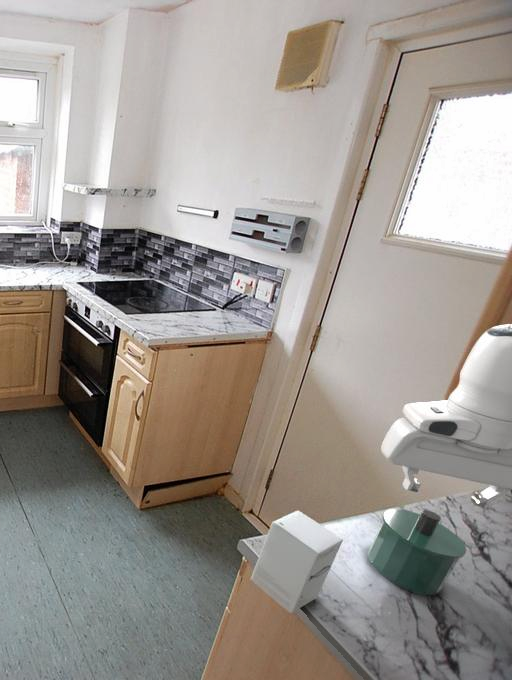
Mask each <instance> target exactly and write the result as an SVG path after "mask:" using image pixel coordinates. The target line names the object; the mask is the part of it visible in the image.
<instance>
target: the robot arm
mask: <svg viewBox="0 0 512 680" xmlns="http://www.w3.org/2000/svg"><path fill="white" fill-rule="evenodd" d="M402 414H403V415H404V417H401V418H398V419H396V420H395V421H394V422H393V423H392V425H391V426H390V428H389V430H388V431H387V433H386V434H385V437H384V439H383V441H382V443H381V446H380V451H381V453H382V455H383V456H384V458H385V459H386V460H387V462H389V463H390V464H391V465H395V466H399V467H402V471H403V474H404V479H403V481H402V487H403V488H404V490H406V491H409V492H414V493H418V492H419V489H420V488H421V485H422V484H421V483H420V482H419V480H418V479H417V478H415V477H414V475H418V474H419V471H422V472H427V473H433V474H436V475H437V474H438V475H442V476H447V477H451V478H456V479H459V480H460V479H461V480H465V481H470V482H475V483H480V484H483V485H488V487H486V488H485V489H484V490H482V491H474V492H473V494H472V495H473V496H471V498H470V501H471V503H472V504H473V505H474V506H476V507H480V508H484V509H488V508H489V507H490V505H491V504H492V502H493V501H495V500H497V499H500V498H502V497H503V496H505V495H507V494H508V492H509V490H512V323H511V324H510V323H508V324H500V325H495V326H493V327H491V328H489V329H486V331H485V332H483V333H482V335H480V337H479V338H478V339H477V340H476V342H475V343H474V345H473V347H472V348H471V350H470V352H469V354H468V355H467V358H466V359H465V361H464V364H463V366H462V368H461V369H460V373H459V382H458V384H457V386H456V387H455V389H454V390H453V391H452V392H451V393H450V394H449V396H448V398H447V400H438V401H426V402H410V403H406V404H405V405H404V406H403V408H402Z"/></svg>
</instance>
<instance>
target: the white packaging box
mask: <svg viewBox="0 0 512 680" xmlns="http://www.w3.org/2000/svg"><path fill="white" fill-rule="evenodd" d="M343 541H344V539H343V538H342V537H340V536H339V535H337V534H336V533H335V532H333V531H332V530H331V529H328V528H326V527H325V526H323V525H322V524H321V523H319V522H317V521H316V520H314V519H313V518H311V517H309V516H308V515H306V514H305V513H303V512H301V511H300V510H295V511H293V512H291V513H288V514H287V515H286V514H285V515H284V516H282V517H281V518H278V519H276V520H274V521H272V522H271V524H270V527H269V530H268V532H267V535H266V538H265V540H264V543H263V545H262V548H261V551H260V553H259V556H258V559H257V561H256V564H255V566H254V570H253V571H252V574H251V577H250V581H251V582H253V583H254V584H255V585H256V586H257V587H258V588H259V589H261V590H262V591H263V592H264V593H265V594H267V595H268V596H269V597H270V598H271V599H273V600H274V601H275V602H276V603H277V604H278V605H280V606H281V607H282V608H283V609H284V610H285V611H287V612H288V613H289V614H291V615H292V614H294V613H295V612H297V611H298V610H299V609H301V608H302V607H304V606H306V605H307V604H308V603H310V602H313V601H314V600H316V599H318V596H319V594H320V593H321V589H322V588H323V586H324V583H325V581H326V579H327V577H328V575H329V573H330V570H331V568H332V567H333V563H334V562H335V559H336V557H337V554H338V553H339V550H340V548H341V545H342V543H343Z"/></svg>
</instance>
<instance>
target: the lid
mask: <svg viewBox="0 0 512 680" xmlns="http://www.w3.org/2000/svg"><path fill="white" fill-rule="evenodd" d="M441 520H442V518H441V516H440V515H439V514H437V513H436V512H434V511H431V510H429V509H423V510H422V511H421V513H417V512H414V511H410V510H407V509H402V508H389V509H387V510H385V511H384V512H383V514H382V522H384V524H385V525H386V526H387V528H388V529H389V530H390V531H391V532H392V533H394V534H395V535H396V536H397V537H399V538H400V539H402V540H403V541H405V542H406V543H408V544H410V545H411V546H413V547H415V548H417V549H419V550H422V551H424V552H426V553H429V554H432V555H435V556H438V557H442V558H448V559H458V558H459V559H462V558H463V557H464V556H465V555H466V553H467V547H466V545H465V543H464V541H463V540H462V539H461V538H460V537H459V536H458V535H457V534H456V533H455V532H454V531H452V530H450V529H449V528H447V527H446V526H445V525H443V524H441V523H440V522H441Z"/></svg>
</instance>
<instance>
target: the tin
mask: <svg viewBox="0 0 512 680" xmlns="http://www.w3.org/2000/svg"><path fill="white" fill-rule="evenodd" d="M367 559H368V561H369V563H370V564H371V566H372V567H373V568H374V569H375V570H376V571H377V572H378V573H379V574H381V576H382V577H384V578H385V579H387V580H388V581H389V582H391V583H393V584H394V585H396V586H398V587H399V588H402V589H404V590H406V591H408V592H411V593H415V594H418V595H423V596H435V595H437V594H439V593H440V592H441V590H442V589H443V588H444V586H445V584H446V583H447V581H448V579H449V577H450V575H451V574H452V572H453V570H454V568H456V565H457V563H458V561H459V560H460V558H458V559H448V558H442V557H438V556H435V555H432V554H429V553H426V552H424V551H422V550H419V549H417V548H415V547H413V546H411V545H410V544H408V543H406V542H405V541H403V540H402V539H400V538H399V537H397V536H396V535H395V534H394V533H392V532H391V531H390V530H389V529H388V528H387V526H386V525H385V524H384V522H383V521H382V522H381V525H380V526H379V528H378V531H377V532H376V535H375V536H374V539H373V540H372V543H371V545H370V547H369V550H368V552H367Z"/></svg>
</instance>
